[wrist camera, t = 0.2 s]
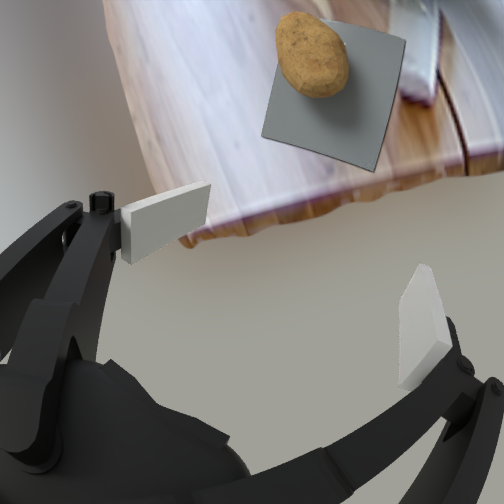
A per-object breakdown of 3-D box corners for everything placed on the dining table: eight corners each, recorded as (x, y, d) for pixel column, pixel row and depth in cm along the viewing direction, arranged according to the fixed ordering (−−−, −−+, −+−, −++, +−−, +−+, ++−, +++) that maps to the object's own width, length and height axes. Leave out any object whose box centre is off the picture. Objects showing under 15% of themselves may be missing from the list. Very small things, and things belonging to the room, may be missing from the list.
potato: (329, 16, 28) (318, -7, 22) (365, 94, 32) (362, 82, 25) (272, 36, 33) (251, 19, 26) (303, 111, 37) (287, 105, 30)
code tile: (290, 15, 31) (289, 14, 30) (405, 40, 26) (405, 39, 25) (261, 136, 41) (260, 136, 41) (373, 171, 36) (373, 171, 36)
